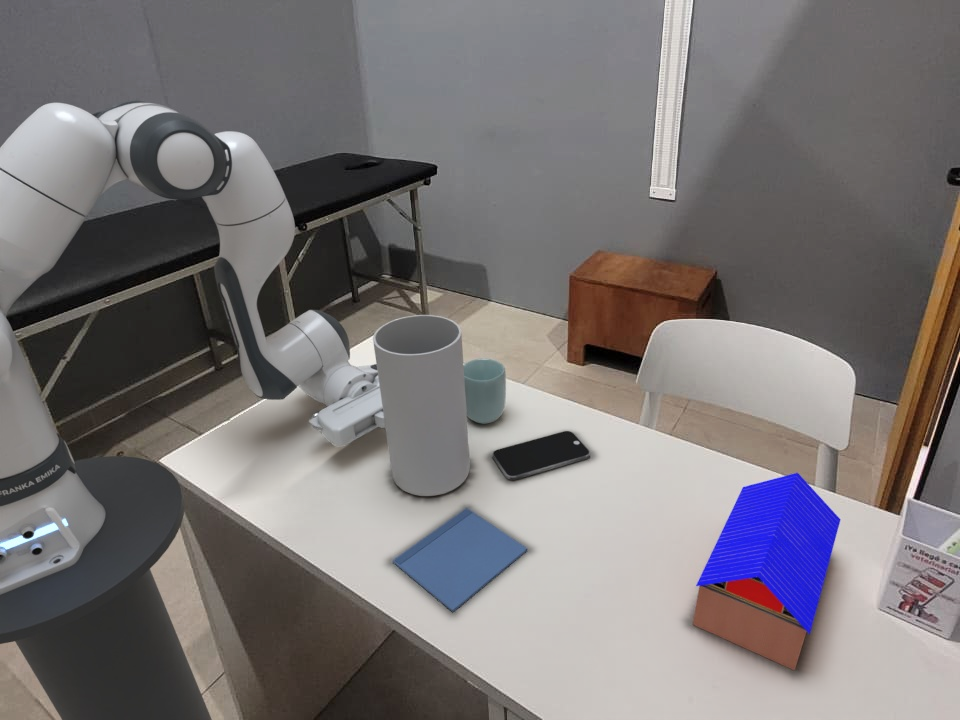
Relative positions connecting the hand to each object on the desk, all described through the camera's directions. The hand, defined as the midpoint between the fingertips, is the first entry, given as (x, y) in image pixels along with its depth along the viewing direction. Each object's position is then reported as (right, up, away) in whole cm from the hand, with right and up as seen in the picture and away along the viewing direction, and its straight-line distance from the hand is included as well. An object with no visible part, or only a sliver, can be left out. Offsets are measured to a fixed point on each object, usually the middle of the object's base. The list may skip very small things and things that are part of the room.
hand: (405, 423), depth 105 cm
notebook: (+9, -16, -17) cm, 25 cm away
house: (+48, -19, -24) cm, 56 cm away
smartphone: (+22, -6, +1) cm, 23 cm away
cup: (+13, 0, +12) cm, 18 cm away
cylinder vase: (+4, -8, -1) cm, 9 cm away
